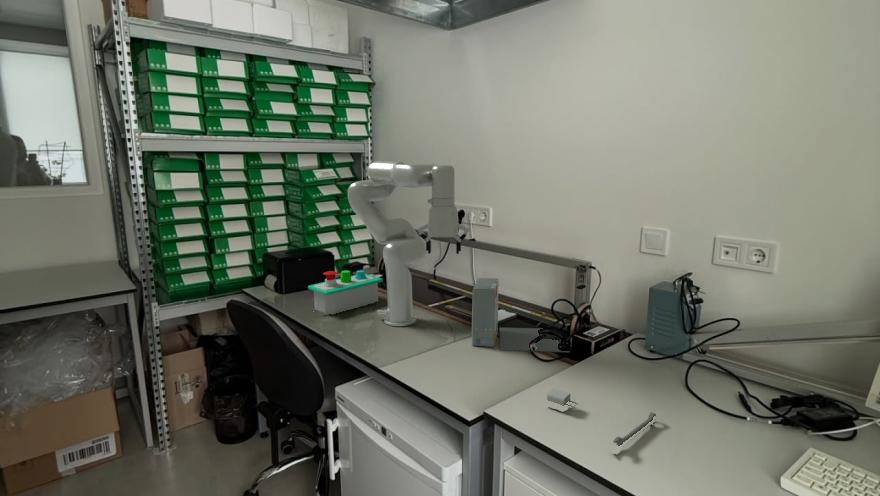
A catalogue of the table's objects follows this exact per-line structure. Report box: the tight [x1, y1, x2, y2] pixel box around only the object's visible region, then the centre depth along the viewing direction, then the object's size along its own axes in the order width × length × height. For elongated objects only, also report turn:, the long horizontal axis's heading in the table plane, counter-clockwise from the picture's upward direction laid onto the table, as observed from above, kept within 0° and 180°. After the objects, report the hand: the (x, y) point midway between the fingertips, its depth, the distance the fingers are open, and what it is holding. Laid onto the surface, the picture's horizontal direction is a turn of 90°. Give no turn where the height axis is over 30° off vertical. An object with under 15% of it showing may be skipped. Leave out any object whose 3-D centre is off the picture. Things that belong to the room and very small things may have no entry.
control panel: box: [307, 269, 384, 315], centre depth 199 cm, size 15×17×30 cm
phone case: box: [498, 309, 518, 325], centre depth 182 cm, size 9×2×16 cm
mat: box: [498, 326, 570, 353], centre depth 161 cm, size 22×20×1 cm
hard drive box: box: [471, 277, 500, 348], centre depth 161 cm, size 16×8×20 cm, turn 168°
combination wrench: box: [612, 412, 657, 446], centre depth 104 cm, size 4×1×20 cm
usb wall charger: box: [546, 388, 579, 409], centre depth 116 cm, size 4×7×4 cm, turn 51°
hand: (443, 253), depth 159 cm, fingers open, 9 cm apart
